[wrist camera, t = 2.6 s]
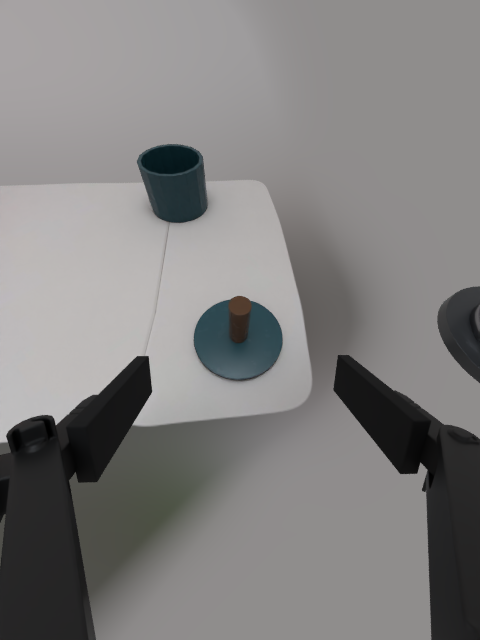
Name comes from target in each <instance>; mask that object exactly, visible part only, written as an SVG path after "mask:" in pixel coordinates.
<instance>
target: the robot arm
mask: <svg viewBox="0 0 480 640" xmlns="http://www.w3.org/2000/svg"><path fill="white" fill-rule="evenodd" d="M470 325H471V328H472V331H473V333H474V335H475V337H476V339H477V340H478V342H479V343H480V304H479V305H477V306H476V307H475V308H474V309H473V310H472V312H471V314H470ZM334 391H335V392H336V394H337V395H338V396H339V398H340V399H341V400H342V401H343V403H344V404H345V405H346V406H347V408H348V409H349V410H350V411H351V413H352V414H353V415H354V416H355V418H356V419H357V420H358V421H359V423H360V424H361V425H362V426H363V428H364V429H365V430H366V431H367V433H368V434H369V435H370V436H371V438H372V439H373V440H374V441H375V443H376V444H377V445H378V446H379V448H380V449H381V450H382V451H383V453H384V454H385V455H386V457H387V458H388V459H389V460H390V462H392V464H393V465H394V467H395V468H396V469H397V470H398V472H399V473H400V474H417V472H418V469H419V465H420V462H421V463H422V464H423V465H424V466H425V467H426V469H427V470H428V471H427V475H426V478H425V482H424V485H423V488H422V491H424V492H425V491H426V497H427V524H428V553H429V582H430V610H431V637H432V639H431V640H480V439H479V438H478V437H476V436H475V435H474V434H472V433H470V432H468V431H466V430H464V429H462V428H459V427H455V426H452V425H444V424H442V423H441V422H440V421H438V420H437V419H436V418H434V417H433V416H432V415H430V414H429V413H428V412H427V411H425V410H424V409H421V407H420V406H419V405H417V404H416V403H414V401H412V400H411V399H410V398H408V397H407V396H405V395H403V394H401V393H399V392H397V391H393V390H392V389H391V388H389V387H388V386H387V385H386V384H384V383H383V382H382V381H381V380H379V379H378V378H377V377H375V376H374V375H373V374H372V373H370V372H369V371H368V370H367V369H366V368H364V367H363V366H362V365H360V364H359V363H358V362H357V361H355V360H354V359H353V358H352V357H350V356H349V355H338V360H337V367H336V375H335V382H334ZM151 393H152V386H151V376H150V366H149V356H137V357H136V358H135V359H134V360H133V361H132V362H131V363H130V364H129V365H128V366H127V367H126V368H125V369H124V370H123V371H122V372H121V373H120V374H119V375H118V376H117V377H116V378H115V379H114V380H113V381H112V382H111V383H110V384H109V385H108V386H107V387H106V388H105V389H104V390H103V391H102V392H101V393H100V394H99V395H92V396H90V397H88V398H87V399H85V400H83V401H82V402H81V403H80V404H79V405H78V406H77V407H75V409H73V410H72V411H71V412H70V413H69V415H67V416H66V417H65V418H64V419H63V420H61V421H60V422H59V423H58V424H57V425H55V421H54V418H53V417H52V416H49V415H41V416H36V417H33V418H30V419H27V420H25V421H22V422H21V423H19V424H17V425H15V426H14V427H13V428H12V429H11V430H9V431H8V433H7V435H6V437H7V440H8V443H9V446H10V449H11V453H7V454H3V455H0V522H1V520H2V517H3V515H4V514H6V518H5V528H4V538H3V547H2V557H1V566H0V640H96V637H95V631H94V625H93V619H92V614H91V607H90V602H89V596H88V590H87V584H86V578H85V572H84V566H83V560H82V554H81V548H80V542H79V536H78V530H77V525H76V519H75V513H74V507H73V501H72V495H71V489H70V484H69V480H70V479H71V477H72V476H73V474H74V473H75V472H76V474H77V479H78V482H97V481H98V480H99V478H100V476H101V474H102V473H103V471H104V470H105V468H106V466H107V465H108V463H109V462H110V460H111V458H112V457H113V455H114V453H115V452H116V450H117V448H118V447H119V445H120V444H121V442H122V440H123V439H124V437H125V435H126V434H127V432H128V431H129V429H130V427H131V426H132V424H133V423H134V421H135V419H136V418H137V416H138V414H139V413H140V411H141V409H142V408H143V406H144V405H145V403H146V401H147V400H148V398H149V396H150V395H151Z"/></svg>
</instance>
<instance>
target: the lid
mask: <svg viewBox="0 0 480 640" xmlns="http://www.w3.org/2000/svg"><path fill="white" fill-rule="evenodd" d="M194 345H195V349H196V352H197V354H198V357H199V358H200V360H201V362H202V363H203V364H204V365H205V366H206V367H207V368H208V369H209V370H210V371H212V372H213V373H215V374H217V375H219V376H221V377H224V378H228V379H233V380H244V379H250V378H253V377H256V376H258V375H260V374H262V373H264V372H265V371H267V370H268V369H269V368H270V367H271V366H272V365H273V364H274V363H275V361H276V360H277V358H278V356H279V354H280V351H281V348H282V331H281V328H280V325H279V323H278V321H277V319H276V318H275V317H274V315H273V314H272V313H271V312H270V311H269V310H268V309H266V308H265V307H263V306H262V305H260V304H258V303H256V302H253V301H250V300H249V299H248V298H246V297H243V296H236V297H234V298H232V299H231V300H226V301H223V302H220V303H218V304H216V305H214V306H212V307H211V308H209V309H208V310H207V311H206V312H205V313H204V314H203V315H202V316H201V318H200V319H199V321H198V323H197V325H196V328H195V333H194Z"/></svg>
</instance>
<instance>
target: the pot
mask: <svg viewBox="0 0 480 640" xmlns="http://www.w3.org/2000/svg"><path fill="white" fill-rule="evenodd" d="M137 164H138V167H139V170H140V172H141V176H142V179H143V182H144V185H145V188H146V191H147V194H148V197H149V200H150V203H151V206H152V208H153V211H154V213H155V214H156V215H157V216H158V217H159V218H161V219H163V220H165V221H169V222H187V221H191V220H194V219H196V218H198V217H200V216H201V215H202V214H203V213H204V212H205V211H206V209H207V193H206V183H205V175H204V174H205V173H204V163H203V156H202V155H201V153H200V152H199V151H197V150H196V149H194V148H192V147H188V146H184V145H178V144H167V145H160V146H156V147H153V148H151V149H148V150H146V151H145V152H143V153H142V154H141V155H139V158H138V160H137Z"/></svg>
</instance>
